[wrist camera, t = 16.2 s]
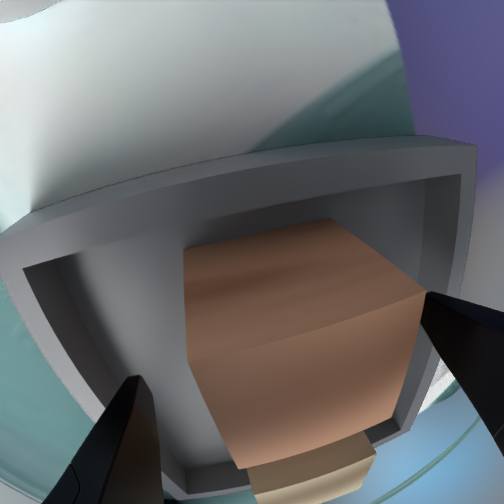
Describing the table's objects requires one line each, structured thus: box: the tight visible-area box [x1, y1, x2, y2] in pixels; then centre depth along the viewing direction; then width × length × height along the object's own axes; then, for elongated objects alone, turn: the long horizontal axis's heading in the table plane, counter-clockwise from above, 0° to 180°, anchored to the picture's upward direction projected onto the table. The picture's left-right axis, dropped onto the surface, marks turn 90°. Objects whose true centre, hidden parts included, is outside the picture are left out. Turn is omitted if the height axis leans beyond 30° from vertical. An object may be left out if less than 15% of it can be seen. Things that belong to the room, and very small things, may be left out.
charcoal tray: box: [0, 135, 477, 500], centre depth 12 cm, size 18×16×3 cm
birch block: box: [247, 430, 376, 504], centre depth 12 cm, size 5×5×5 cm
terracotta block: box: [183, 218, 426, 469], centre depth 9 cm, size 5×5×5 cm
